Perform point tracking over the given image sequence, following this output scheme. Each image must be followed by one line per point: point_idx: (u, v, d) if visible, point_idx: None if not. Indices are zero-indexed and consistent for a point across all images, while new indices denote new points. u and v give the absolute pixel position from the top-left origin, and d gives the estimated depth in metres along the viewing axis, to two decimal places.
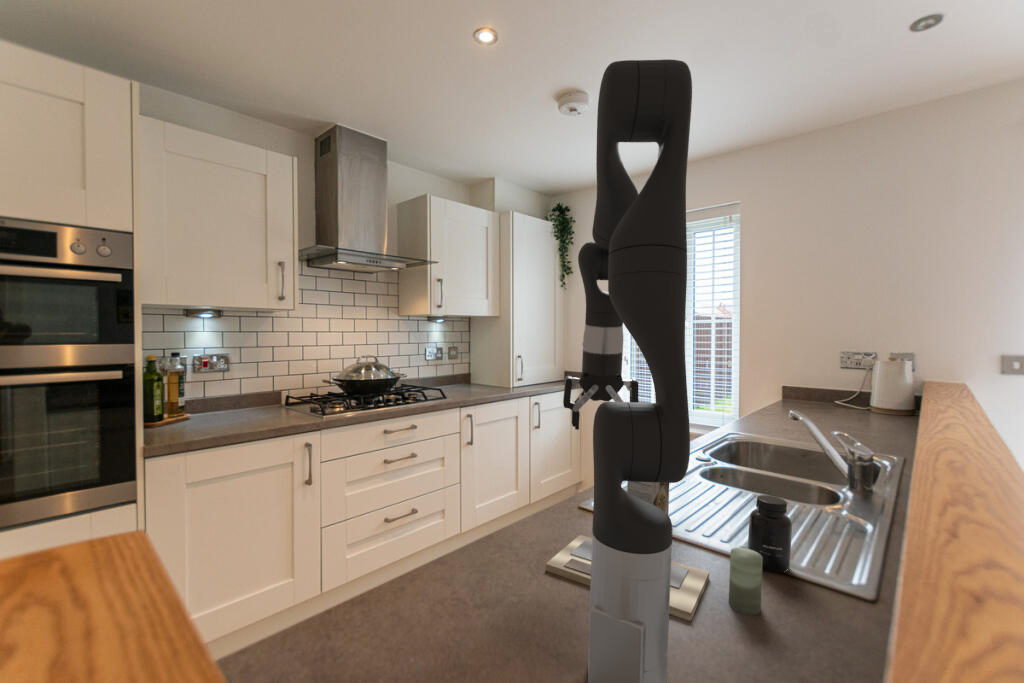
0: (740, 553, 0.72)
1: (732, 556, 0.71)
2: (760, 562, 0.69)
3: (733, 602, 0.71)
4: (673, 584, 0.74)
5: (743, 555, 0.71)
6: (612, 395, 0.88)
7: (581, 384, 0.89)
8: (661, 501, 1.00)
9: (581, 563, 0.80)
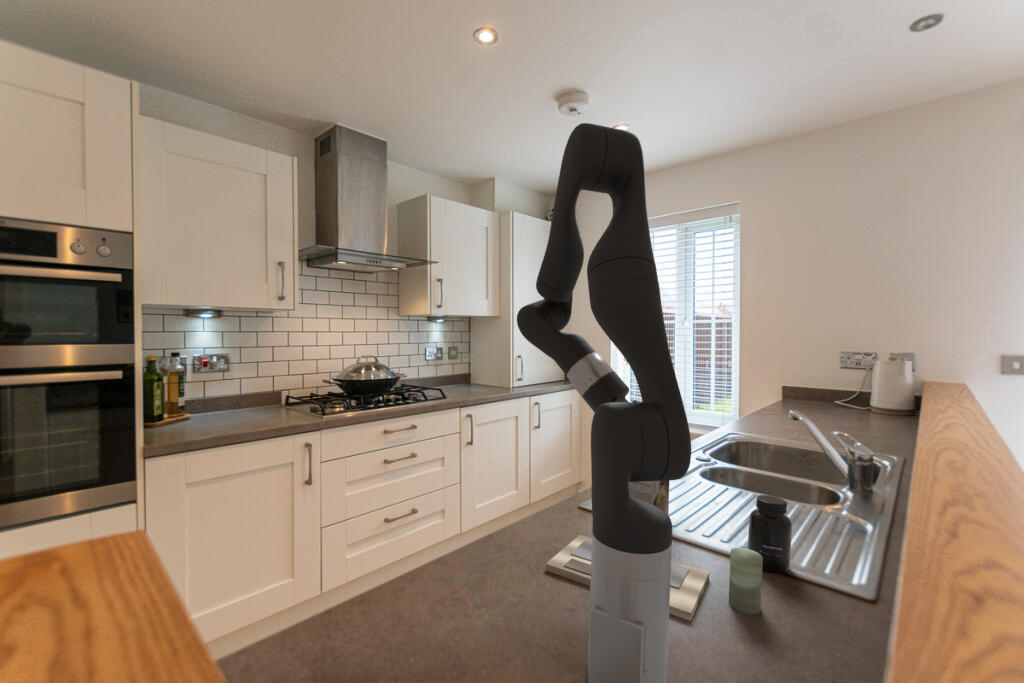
0: (740, 553, 0.72)
1: (732, 556, 0.71)
2: (760, 562, 0.69)
3: (733, 602, 0.71)
4: (673, 584, 0.74)
5: (743, 555, 0.71)
6: None
7: None
8: (661, 501, 1.00)
9: (581, 563, 0.80)
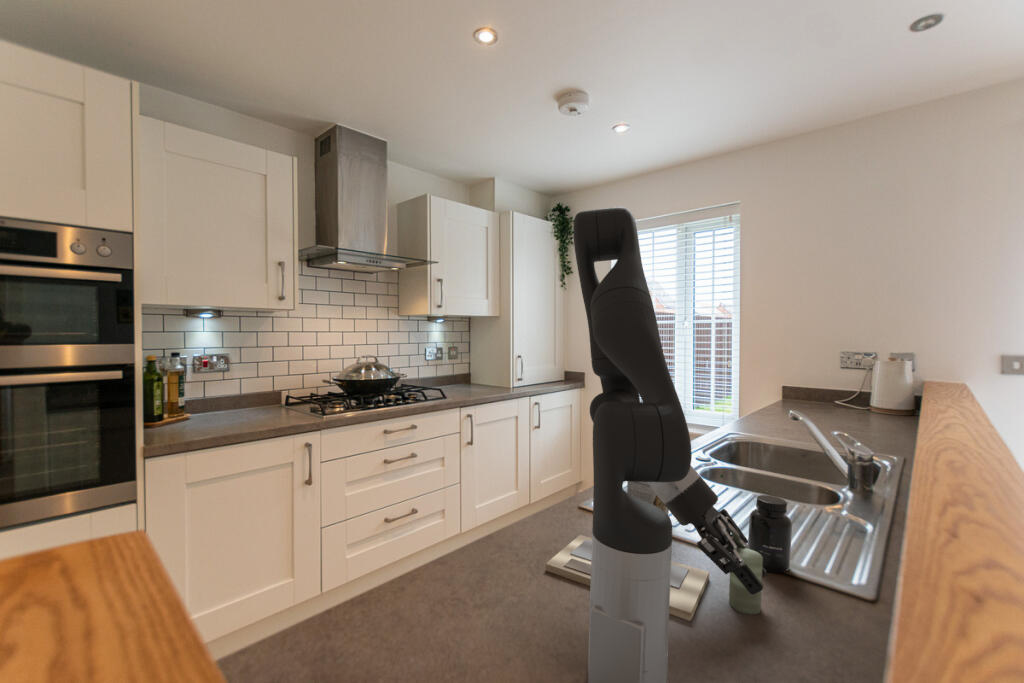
0: (740, 553, 0.72)
1: None
2: (760, 562, 0.69)
3: (733, 602, 0.71)
4: (673, 584, 0.74)
5: (743, 555, 0.71)
6: (730, 526, 0.74)
7: (711, 530, 0.70)
8: (661, 501, 1.00)
9: (581, 563, 0.80)
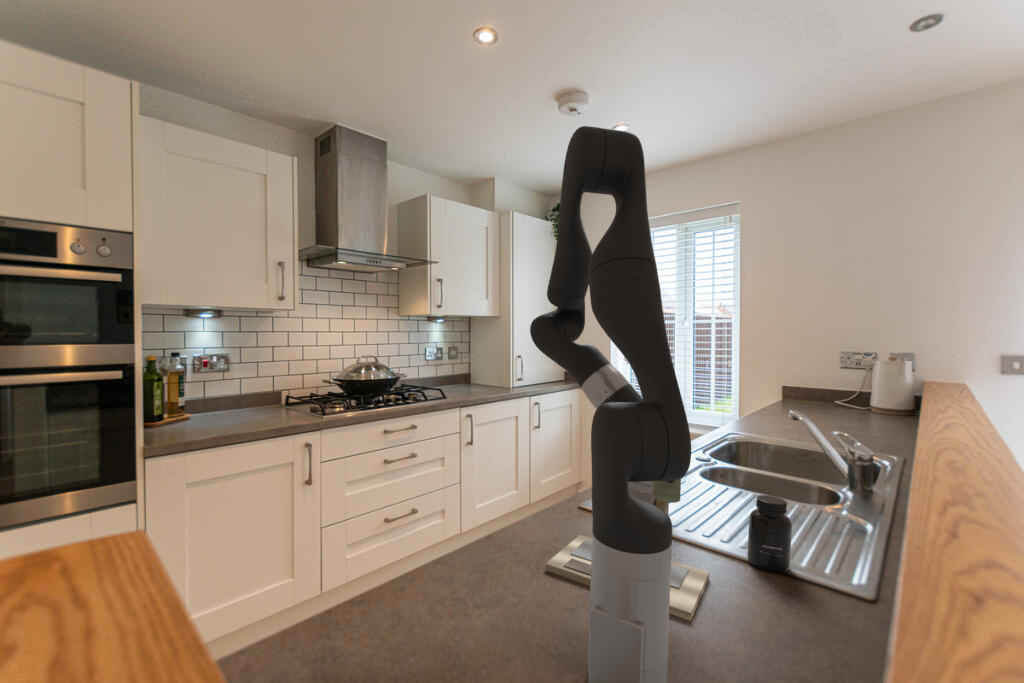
0: None
1: None
2: None
3: (655, 493, 0.77)
4: (673, 584, 0.74)
5: None
6: None
7: None
8: (661, 501, 1.00)
9: (581, 563, 0.80)
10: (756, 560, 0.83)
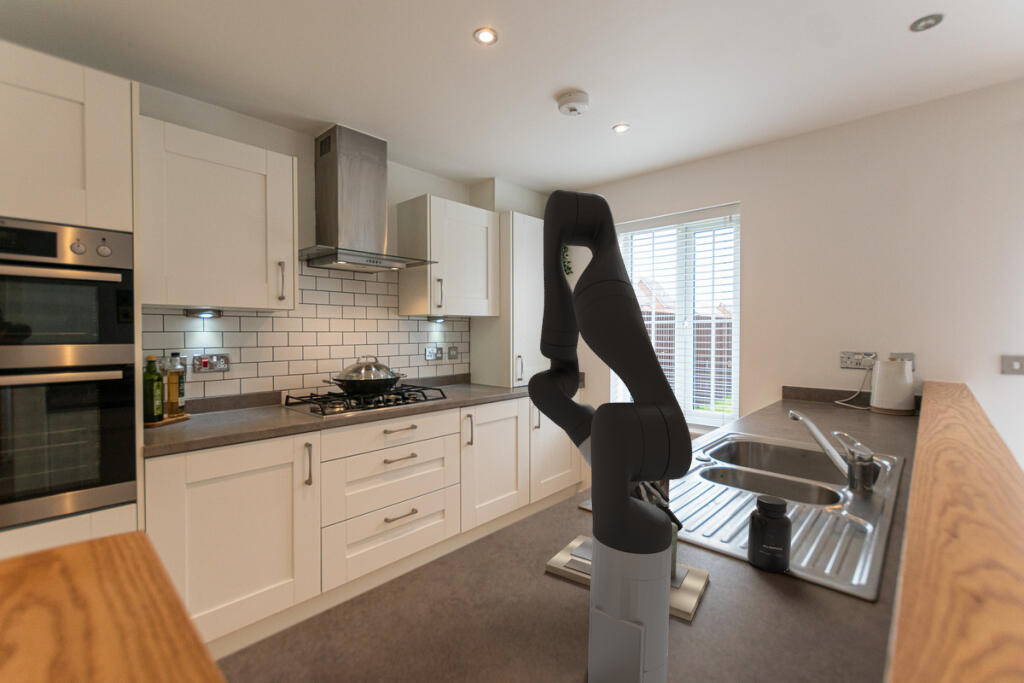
0: None
1: None
2: (674, 531, 0.76)
3: None
4: (673, 584, 0.74)
5: None
6: (652, 490, 0.81)
7: (631, 493, 0.77)
8: None
9: (581, 563, 0.80)
10: (756, 560, 0.83)
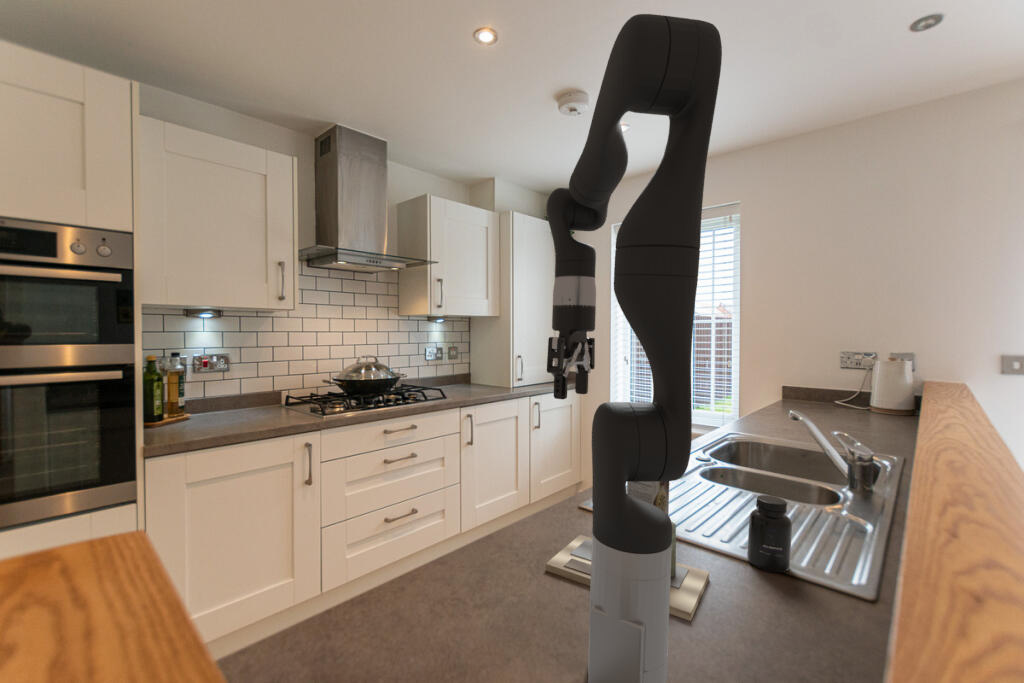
0: None
1: None
2: (673, 529, 0.77)
3: None
4: (673, 584, 0.74)
5: None
6: (586, 353, 0.82)
7: (568, 344, 0.78)
8: (661, 501, 1.00)
9: (581, 563, 0.80)
10: (756, 560, 0.83)
